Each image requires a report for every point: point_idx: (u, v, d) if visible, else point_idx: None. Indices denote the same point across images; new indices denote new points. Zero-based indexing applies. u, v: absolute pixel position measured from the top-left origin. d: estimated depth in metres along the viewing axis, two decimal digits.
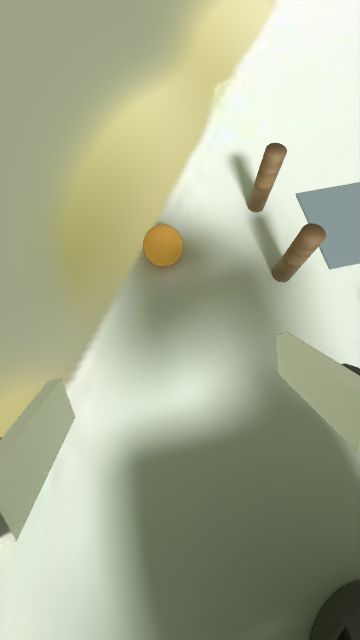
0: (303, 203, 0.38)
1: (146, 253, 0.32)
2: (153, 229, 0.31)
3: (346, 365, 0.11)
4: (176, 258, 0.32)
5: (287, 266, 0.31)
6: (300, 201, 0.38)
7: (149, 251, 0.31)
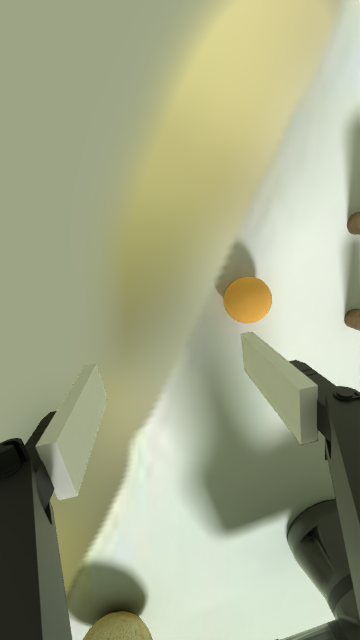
0: None
1: (230, 314, 0.28)
2: (246, 295, 0.26)
3: (296, 361, 0.12)
4: None
5: None
6: None
7: (235, 316, 0.28)
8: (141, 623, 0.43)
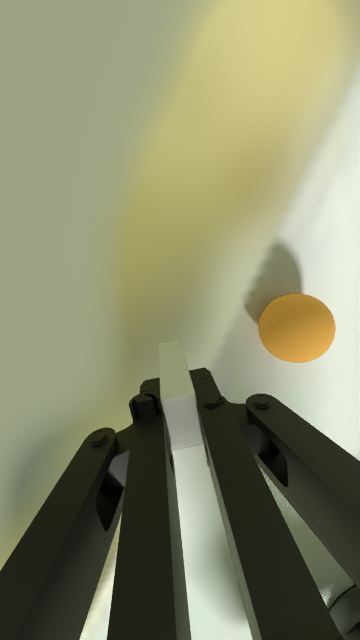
0: None
1: (270, 349, 0.19)
2: (300, 325, 0.17)
3: (203, 369, 0.13)
4: None
5: None
6: None
7: (278, 354, 0.18)
8: None
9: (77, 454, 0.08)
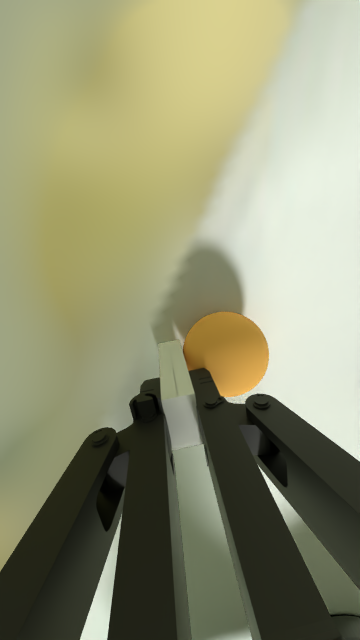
0: None
1: None
2: (229, 354, 0.13)
3: (203, 369, 0.13)
4: None
5: None
6: None
7: None
8: None
9: (78, 454, 0.08)
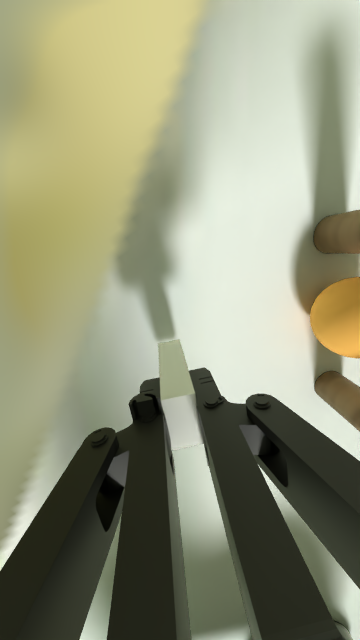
0: None
1: None
2: (325, 310, 0.16)
3: (203, 369, 0.13)
4: None
5: None
6: None
7: None
8: None
9: (77, 454, 0.08)
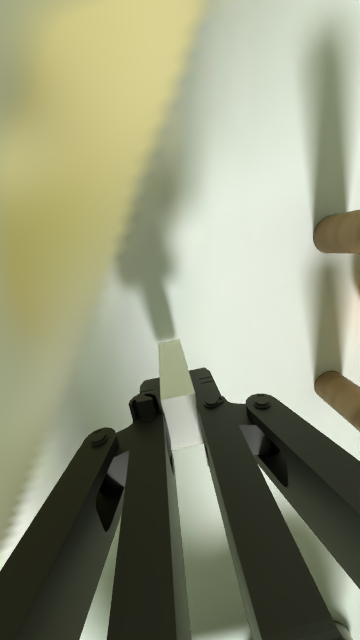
0: None
1: None
2: None
3: (203, 369, 0.13)
4: None
5: None
6: None
7: None
8: None
9: (77, 454, 0.08)
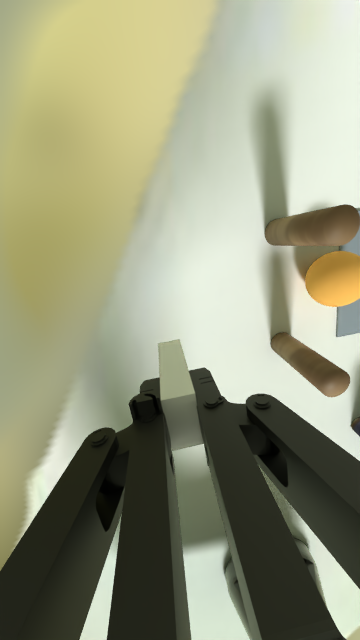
0: None
1: (336, 295, 0.22)
2: None
3: (203, 369, 0.13)
4: None
5: None
6: None
7: (344, 297, 0.22)
8: None
9: (77, 454, 0.08)
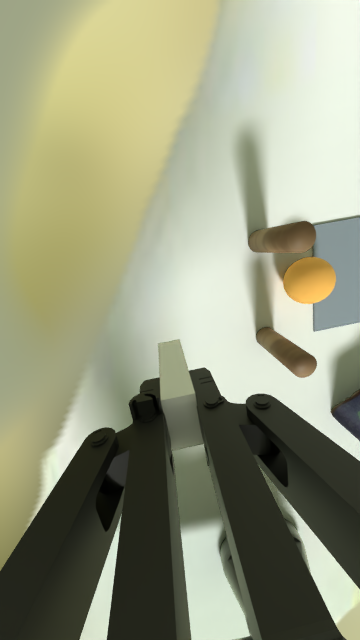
0: (317, 242, 0.30)
1: (306, 294, 0.27)
2: (327, 271, 0.26)
3: (203, 369, 0.13)
4: None
5: None
6: None
7: (313, 295, 0.27)
8: None
9: (77, 454, 0.08)
